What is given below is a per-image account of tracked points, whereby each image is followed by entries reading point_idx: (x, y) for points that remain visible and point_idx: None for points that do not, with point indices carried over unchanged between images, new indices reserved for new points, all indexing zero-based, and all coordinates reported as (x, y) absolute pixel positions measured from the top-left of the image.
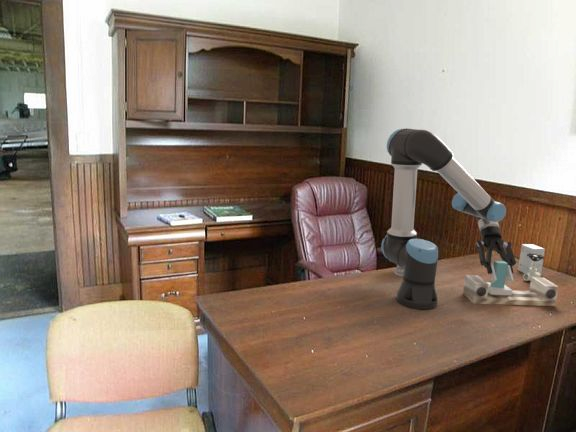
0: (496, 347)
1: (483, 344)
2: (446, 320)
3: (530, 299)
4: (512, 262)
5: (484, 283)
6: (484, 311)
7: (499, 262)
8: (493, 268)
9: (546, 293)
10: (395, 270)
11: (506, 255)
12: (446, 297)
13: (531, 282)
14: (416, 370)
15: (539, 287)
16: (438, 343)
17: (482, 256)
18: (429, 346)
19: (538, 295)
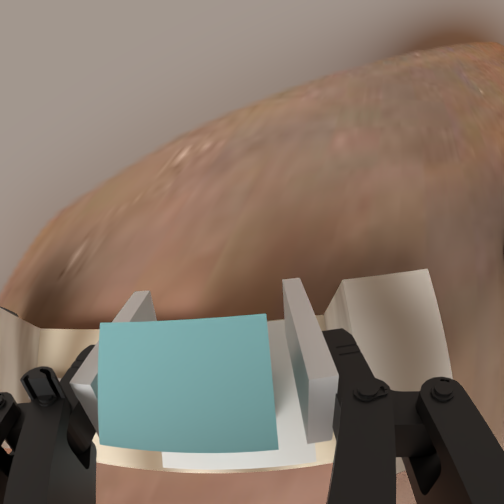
0: (350, 69)
1: (375, 76)
2: (462, 158)
3: (80, 341)
4: (15, 420)
5: (370, 291)
6: (348, 233)
7: (216, 355)
8: (307, 341)
9: (11, 313)
10: None
11: (12, 501)
12: (479, 355)
13: (4, 440)
14: (454, 52)
15: (3, 360)
16: (451, 85)
17: (493, 446)
18: (460, 81)
19: (30, 366)
